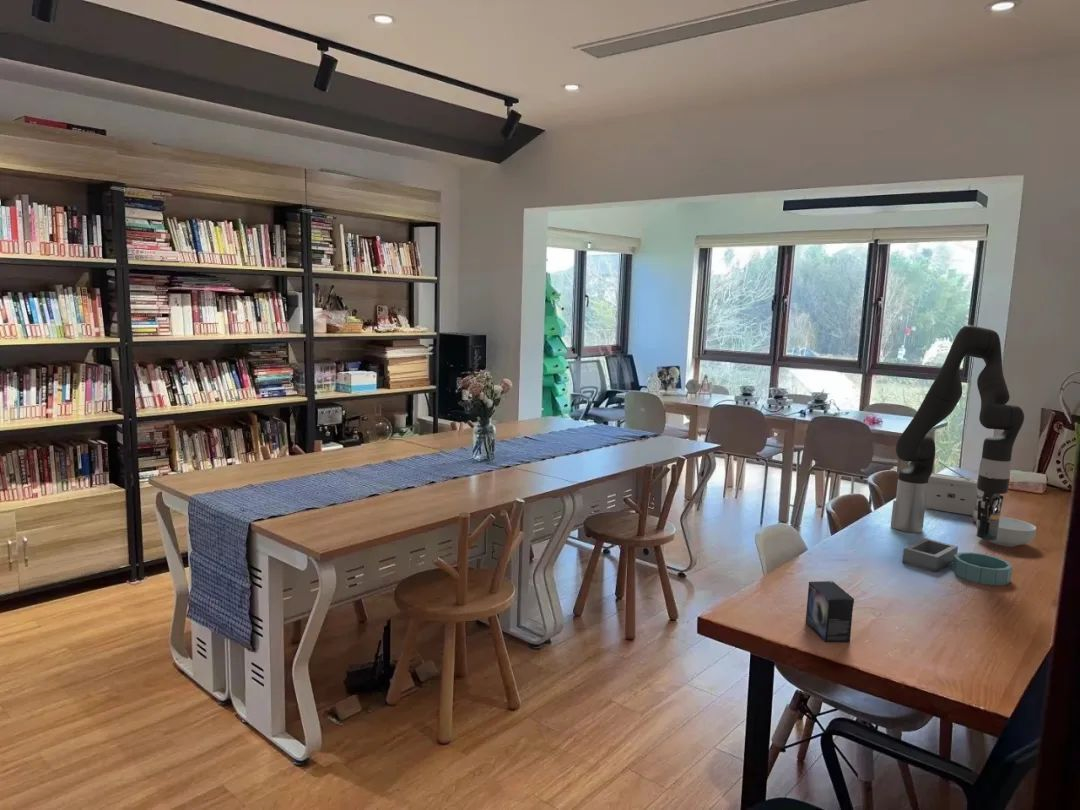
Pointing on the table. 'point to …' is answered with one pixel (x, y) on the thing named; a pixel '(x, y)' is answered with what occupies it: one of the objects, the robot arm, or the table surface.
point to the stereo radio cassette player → (951, 493)
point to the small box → (829, 611)
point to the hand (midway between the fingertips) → (986, 532)
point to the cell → (991, 527)
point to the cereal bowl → (1013, 532)
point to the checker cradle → (929, 554)
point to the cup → (982, 568)
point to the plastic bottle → (979, 496)
